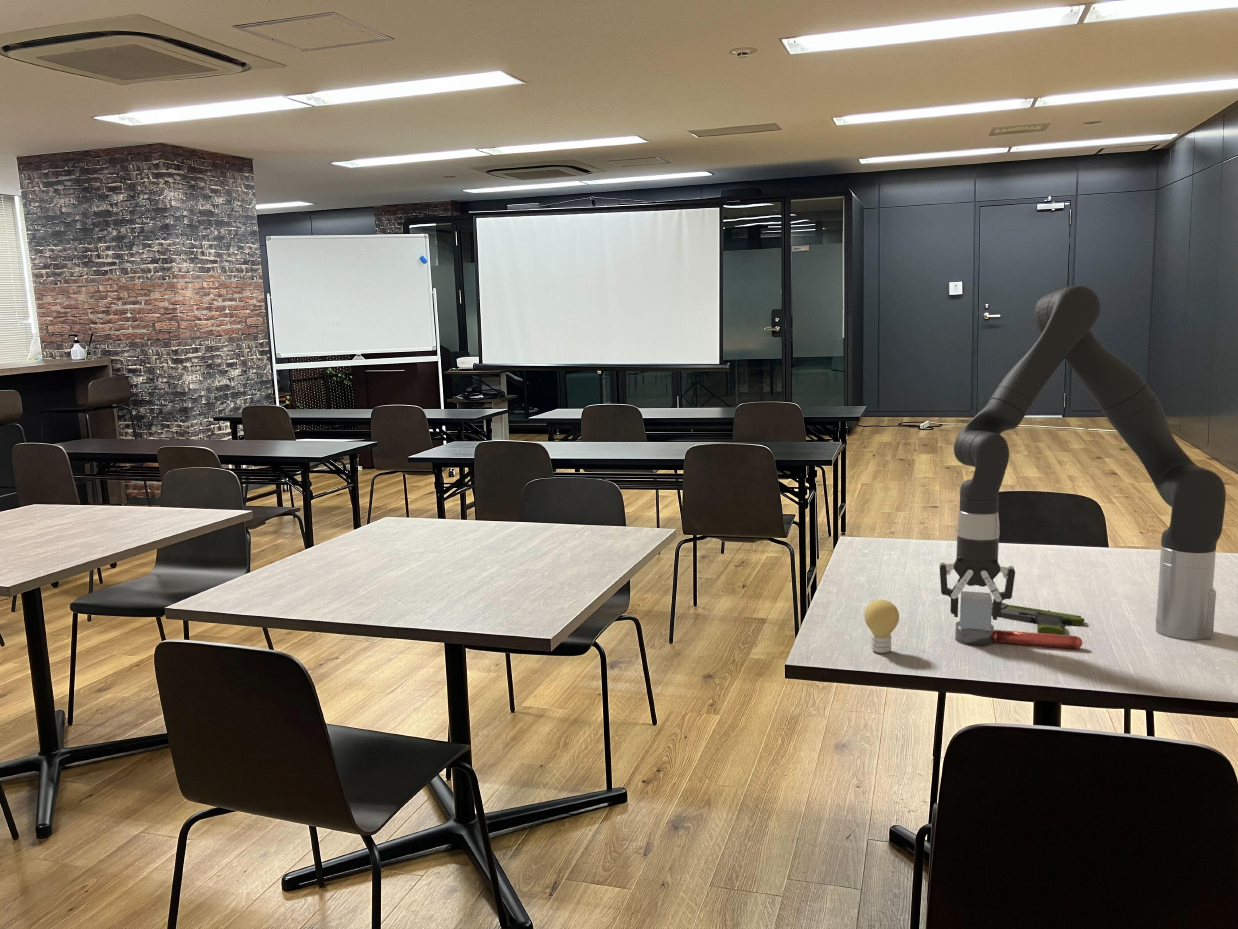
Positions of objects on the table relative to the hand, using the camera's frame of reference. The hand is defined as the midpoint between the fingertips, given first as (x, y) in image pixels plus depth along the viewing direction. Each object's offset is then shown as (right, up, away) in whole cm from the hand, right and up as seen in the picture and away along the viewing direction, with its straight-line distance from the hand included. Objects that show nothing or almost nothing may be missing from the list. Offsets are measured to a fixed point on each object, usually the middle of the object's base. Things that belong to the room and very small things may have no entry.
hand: (975, 617), depth 185 cm
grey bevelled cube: (0, -2, 0) cm, 2 cm away
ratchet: (+7, -5, -2) cm, 9 cm away
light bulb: (-20, -6, -4) cm, 21 cm away
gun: (+15, -3, +11) cm, 19 cm away
